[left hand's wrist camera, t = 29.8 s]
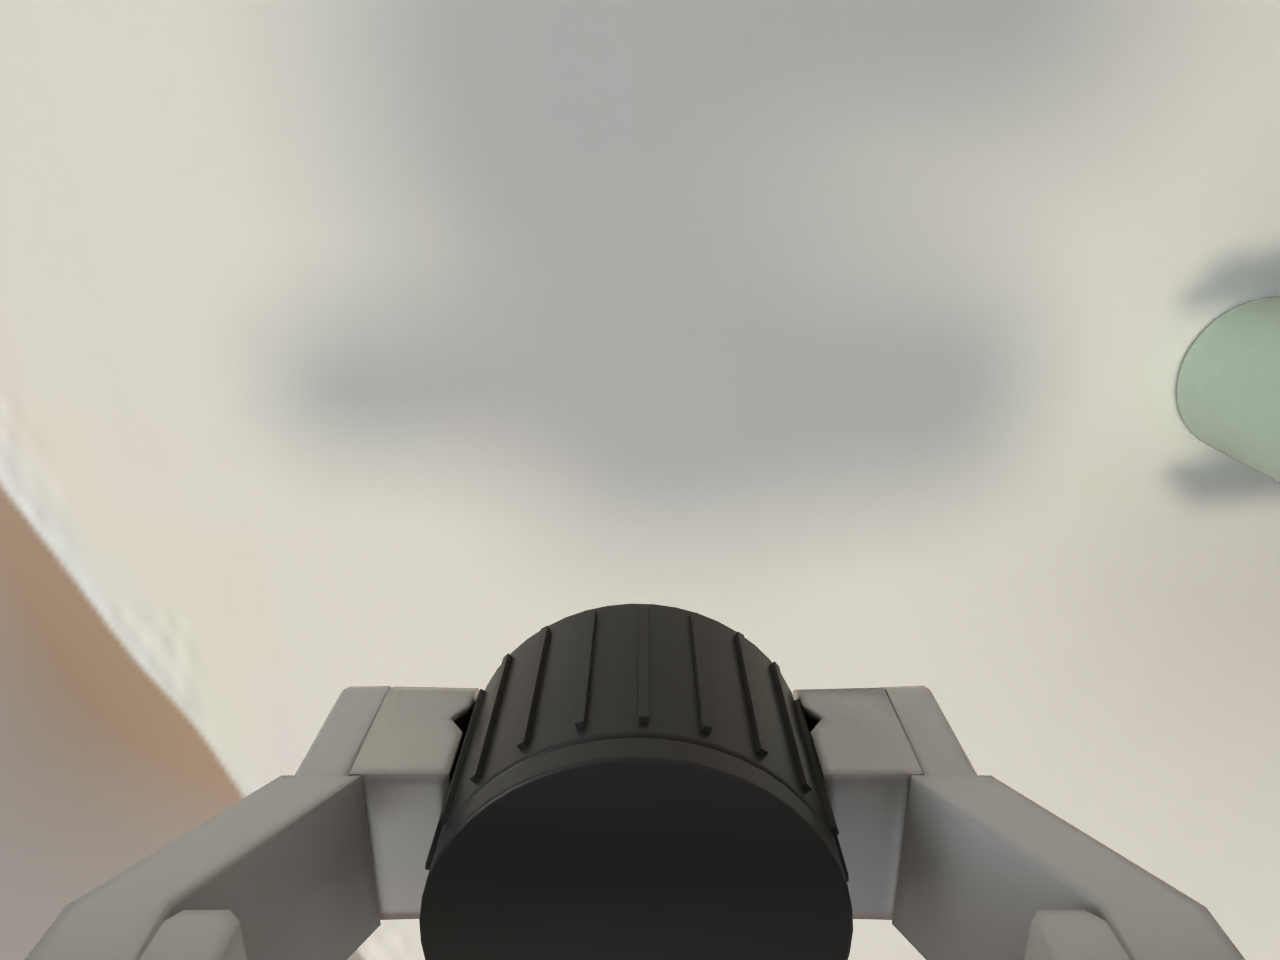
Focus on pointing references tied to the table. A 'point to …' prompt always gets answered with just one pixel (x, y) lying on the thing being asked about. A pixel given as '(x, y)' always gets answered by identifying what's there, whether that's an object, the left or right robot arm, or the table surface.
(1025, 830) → the left robot arm
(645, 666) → the cap
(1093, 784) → the table surface
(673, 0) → the table surface
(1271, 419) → the bottle
